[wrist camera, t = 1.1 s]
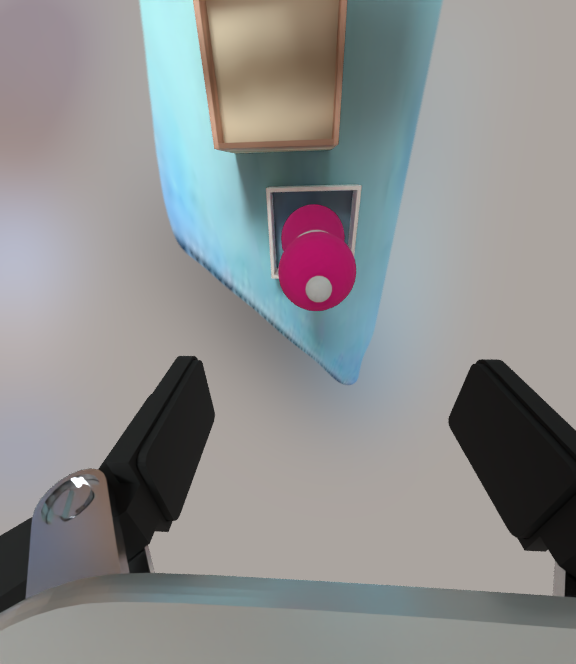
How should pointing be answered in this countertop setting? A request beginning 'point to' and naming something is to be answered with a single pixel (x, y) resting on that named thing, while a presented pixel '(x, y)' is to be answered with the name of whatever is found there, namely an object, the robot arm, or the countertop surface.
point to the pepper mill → (315, 259)
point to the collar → (270, 190)
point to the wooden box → (272, 72)
